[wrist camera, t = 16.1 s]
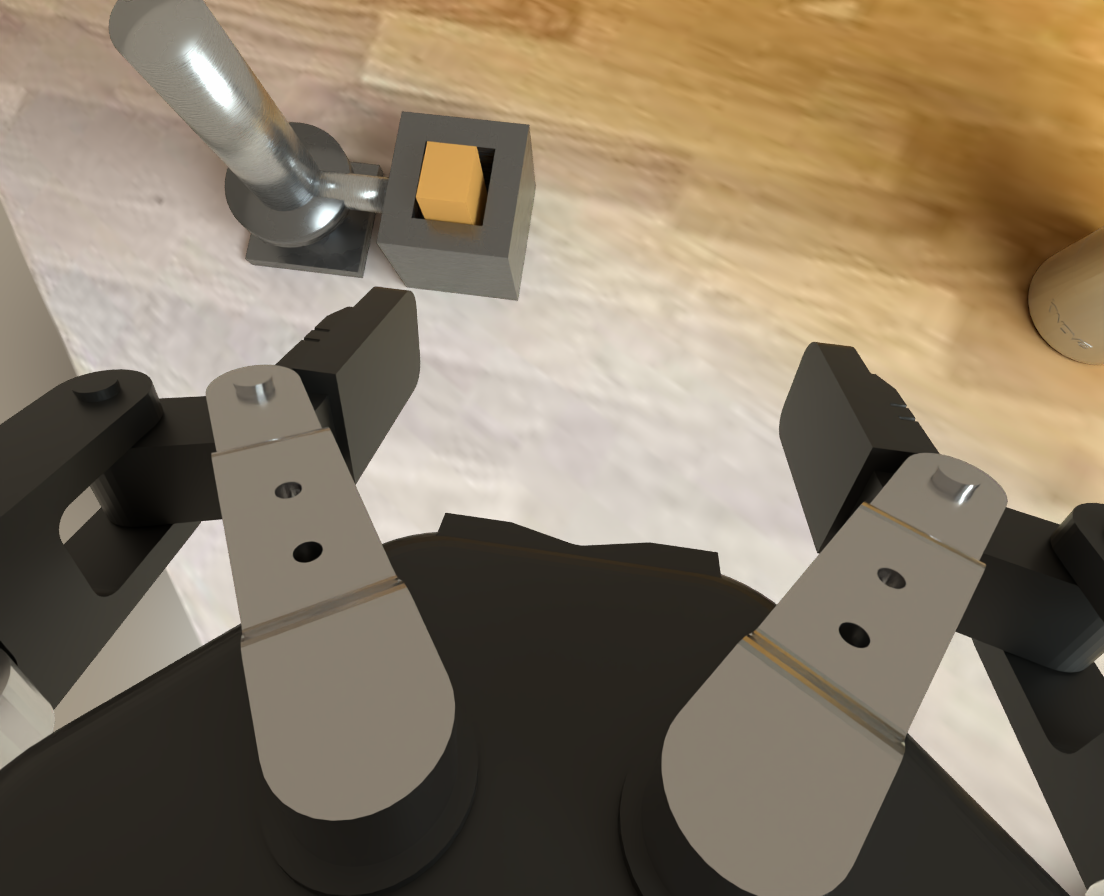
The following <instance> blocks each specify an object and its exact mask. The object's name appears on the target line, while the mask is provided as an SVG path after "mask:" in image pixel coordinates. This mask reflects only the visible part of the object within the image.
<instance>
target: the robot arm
mask: <svg viewBox="0 0 1104 896" xmlns="http://www.w3.org/2000/svg"><path fill="white" fill-rule="evenodd" d="M1028 303H1029V310H1030V315H1031V317H1032V320H1033V322H1034V325H1035V327H1036V328H1037V330H1038V331H1039V333H1040V335H1041V336H1042V337H1043V338H1044V340H1045V341H1046V342H1047V343H1048V344H1049V345H1050V346H1051V347H1052V348H1054V349H1055V350H1057V351H1058V352H1060V353H1061V354H1062V355H1064V356H1066V357H1069V358H1071V359H1073V360H1075V361H1079V362H1083V363H1087V364H1096V365H1104V226H1103V227H1102V228H1100V229H1098V230H1096V231H1095V232H1093V233H1091V234H1089V235H1088V236H1086V237H1084V238H1082V239H1081V240H1079V241H1077V242H1075V243H1074V244H1072V245H1070V246H1068V247H1067V248H1065V249H1063V250H1061V251H1060V252H1058V253H1056V254H1055V255H1053V256H1051V257H1050V258H1048V259H1047V260H1046V261H1045V262H1044V263H1043V264H1042V265H1041V266H1040V267H1039V268H1038V270H1037V271H1036V273H1035V275H1034V276H1033V278H1032V281H1031V285H1030V288H1029V297H1028ZM419 373H420V350H419V337H418V323H417V309H416V301H415V297H414V294H413V293H412V292H411V291H407V290H399V289H391V288H383V287H373V288H372V289H371V290H370V291H369V292H368V293H367V294H366V295H365V296H364V297H363V298H362V299H361V300H360V301H359V302H358V303H357V304H356V305H355V306H354V307H346V308H344V309H342V310H339V311H337V312H335V313H333V314H330V315H328V316H327V317H325V318H324V319H323V320H322V321H321V322H320V323H319V324H318V325H317V326H316V327H315V330H312V331H311V332H310V333H308V334H307V335H306V336H305V337H304V340H301V341H300V342H299V343H298V344H297V345H296V346H295V347H294V348H293V349H291V350H290V351H289V352H288V353H287V354H286V355H285V356H284V357H283V358H282V359H281V360H280V361H279V362H278V363H277V364H275V365H254V366H247V367H242V368H238V369H235V370H232V371H229V372H227V373H225V374H223V375H221V376H219V377H218V378H216V379H215V380H213V381H212V382H211V383H210V384H209V386H208V387H207V390H206V396H201V397H182V398H162V399H159V398H158V395H157V393H156V390H155V388H154V385H153V383H152V381H151V379H150V377H148V376H147V375H146V374H143V373H141V372H138V371H133V370H122V369H120V370H105V371H98V372H93V373H89V374H85V375H82V376H78V377H75V378H73V379H70V380H68V381H66V382H64V383H62V384H60V385H58V386H56V387H55V388H53V389H52V390H50V391H49V392H47V393H46V394H44V395H43V396H42V397H40V398H39V399H37V400H36V401H34V402H33V403H31V404H30V405H28V406H27V407H25V408H24V409H23V410H21V411H20V412H18V413H17V414H15V415H14V416H12V417H11V418H9V419H8V420H7V421H5V422H4V423H2V424H1V425H0V896H1070V895H1069V894H1068V893H1067V892H1066V891H1065V890H1064V889H1063V888H1062V887H1061V886H1060V885H1059V884H1058V883H1057V882H1056V881H1055V880H1054V879H1053V878H1052V877H1051V876H1050V875H1049V874H1048V873H1047V872H1046V871H1045V870H1044V869H1043V868H1042V867H1041V866H1040V865H1039V864H1038V863H1037V862H1036V861H1035V860H1034V859H1033V858H1032V857H1031V856H1030V855H1029V854H1028V853H1027V852H1026V851H1025V850H1024V849H1023V848H1022V847H1021V846H1020V845H1019V844H1018V843H1017V842H1016V841H1015V840H1014V839H1013V838H1012V837H1011V836H1010V835H1009V834H1008V833H1007V832H1006V831H1005V830H1004V829H1003V828H1002V827H1001V826H1000V825H999V824H998V823H997V822H996V821H995V820H994V819H993V818H992V817H991V816H990V815H989V814H988V813H987V812H986V811H985V810H984V809H983V808H982V807H981V806H980V805H979V804H978V803H977V802H976V801H975V800H974V799H973V798H972V797H971V796H970V795H969V794H968V793H967V792H966V791H965V790H964V789H963V788H962V787H961V786H960V785H959V784H958V783H957V782H956V781H955V780H954V779H953V778H952V777H951V776H950V775H949V774H948V773H947V772H946V771H945V770H944V769H943V768H942V767H941V766H940V765H939V764H938V763H937V762H936V761H935V760H934V759H933V758H932V757H931V756H930V755H929V754H928V753H927V752H926V751H925V750H924V749H923V748H922V747H921V746H920V745H919V744H918V743H917V742H916V741H915V740H914V739H913V738H912V737H911V736H910V735H909V734H908V733H907V732H908V730H909V727H910V725H911V723H912V721H913V719H914V717H915V715H916V713H917V711H918V709H919V706H920V704H921V702H922V700H923V698H924V696H925V694H926V692H927V690H928V688H929V686H930V683H931V681H932V679H933V677H934V675H935V673H936V671H937V669H938V667H939V665H940V662H941V660H942V658H943V656H944V654H945V652H946V650H947V648H948V646H949V644H950V642H951V639H952V637H953V635H954V633H955V632H958V633H960V634H963V635H966V636H968V637H971V638H972V640H973V643H974V646H975V648H976V650H977V652H978V654H979V656H980V659H981V661H982V663H983V665H984V667H985V669H986V672H987V674H988V676H989V678H990V680H991V682H992V685H993V687H994V689H995V691H996V693H997V695H998V698H999V700H1000V702H1001V704H1002V706H1003V709H1004V711H1005V713H1006V715H1007V717H1008V719H1009V722H1010V724H1011V726H1012V728H1013V730H1014V732H1015V735H1016V737H1017V739H1018V741H1019V743H1020V745H1021V748H1022V750H1023V752H1024V754H1025V756H1026V758H1027V761H1028V763H1029V765H1030V767H1031V769H1032V771H1033V774H1034V776H1035V778H1036V780H1037V782H1038V785H1039V787H1040V789H1041V791H1042V793H1043V795H1044V798H1045V800H1046V802H1047V804H1048V806H1049V808H1050V811H1051V813H1052V815H1053V817H1054V819H1055V821H1056V824H1057V826H1058V828H1059V830H1060V832H1061V834H1062V837H1063V839H1064V841H1065V843H1066V845H1067V848H1068V850H1069V852H1070V854H1071V856H1072V858H1073V861H1074V863H1075V865H1076V867H1077V869H1078V871H1079V874H1080V876H1081V878H1082V880H1083V882H1084V884H1085V887H1086V889H1087V892H1086V894H1085V896H1104V677H1103V675H1102V674H1101V672H1100V670H1099V669H1098V667H1097V666H1096V664H1095V663H1094V661H1095V660H1096V659H1097V658H1098V657H1100V656H1101V655H1102V654H1103V653H1104V504H1099V503H1085V504H1081V505H1078V506H1077V507H1075V508H1074V509H1073V511H1072V512H1071V513H1070V514H1069V515H1068V516H1067V518H1066V519H1065V520H1064V521H1063V522H1062V523H1061V524H1056V523H1053V522H1050V521H1047V520H1044V519H1041V518H1038V517H1035V516H1031V515H1028V514H1025V513H1022V512H1019V511H1016V510H1013V509H1010V508H1007V507H1006V506H1007V502H1008V500H1007V495H1006V493H1005V491H1004V490H1003V488H1002V487H1001V486H1000V485H999V484H998V483H997V482H996V481H995V480H994V479H993V478H992V477H991V476H989V475H988V474H986V473H985V472H983V471H982V470H980V469H978V468H977V467H975V466H973V465H971V464H969V463H967V462H964V461H962V460H959V459H956V458H953V457H950V456H946V455H942V454H939V452H938V451H937V449H936V448H935V446H934V445H933V443H932V442H931V440H930V439H929V437H928V436H927V435H926V433H925V432H924V430H923V429H922V427H921V426H920V424H919V423H918V422H916V421H915V417H914V415H913V414H912V412H911V411H910V410H909V408H906V406H907V405H906V404H905V402H904V401H903V399H902V398H901V396H900V395H899V393H898V392H897V390H896V389H895V388H893V387H892V386H891V385H889V384H888V383H887V382H885V381H884V380H883V379H881V378H880V377H878V376H877V375H876V374H871V373H870V372H869V370H868V368H867V367H866V365H865V364H864V362H863V361H862V359H861V357H860V356H859V354H858V353H857V351H856V350H855V348H854V347H851V346H843V345H835V344H827V343H819V342H812V343H811V344H809V346H808V347H807V348H806V350H805V352H804V354H803V357H802V360H801V362H800V365H799V367H798V370H797V373H796V375H795V378H794V380H793V383H792V386H791V388H790V391H789V393H788V396H787V399H786V401H785V404H784V406H783V409H782V413H781V417H780V424H779V435H780V440H781V443H782V446H783V449H784V452H785V455H786V458H787V462H788V465H789V468H790V471H791V474H792V477H793V480H794V483H795V486H796V489H797V492H798V495H799V498H800V502H801V505H802V508H803V511H804V514H805V517H806V520H807V523H808V526H809V529H810V532H811V535H812V538H813V542H814V545H815V548H816V551H817V553H820V554H819V555H818V556H817V558H816V559H815V560H814V561H813V562H812V564H811V565H810V566H809V567H808V568H807V570H806V571H805V572H804V573H803V574H802V576H801V577H800V578H799V579H798V580H797V582H796V583H795V584H794V585H793V586H792V588H791V589H790V590H789V591H788V592H787V593H786V595H785V596H784V597H783V598H782V599H781V601H780V602H779V603H778V604H775V603H774V602H773V601H771V600H770V599H768V598H767V597H765V596H764V595H762V594H761V593H759V592H758V591H756V590H754V589H752V588H751V587H749V586H747V585H745V584H743V583H741V582H739V581H737V580H734V579H732V578H730V577H727V576H725V575H722V574H721V573H720V566H719V558H718V552H711V551H704V550H697V549H691V548H684V547H677V546H670V545H663V544H656V543H629V544H609V545H588V546H580V545H575V544H571V543H568V542H565V541H563V540H560V539H557V538H554V537H551V536H548V535H546V534H543V533H540V532H537V531H534V530H531V529H529V528H526V527H523V526H520V525H517V524H514V523H512V522H506V521H499V520H492V519H485V518H478V517H471V516H465V515H458V514H451V513H445V515H444V518H443V520H442V523H441V525H440V528H439V530H438V532H432V533H423V534H416V535H411V536H407V537H403V538H398V539H395V540H392V541H389V542H386V543H383V544H382V543H381V541H380V539H379V537H378V534H377V532H376V530H375V528H374V526H373V523H372V521H371V519H370V517H369V514H368V512H367V510H366V508H365V505H364V503H363V501H362V499H361V497H360V494H359V492H358V490H357V488H356V483H357V482H358V480H359V478H360V477H361V475H362V474H363V472H364V470H365V469H366V467H367V465H368V464H369V462H370V461H371V459H372V457H373V456H374V454H375V453H376V451H377V449H378V448H379V446H380V444H381V443H382V441H383V440H384V438H385V436H386V435H387V433H388V431H389V430H390V428H391V427H392V425H393V423H394V422H395V420H396V419H397V417H398V415H399V414H400V412H401V410H402V409H403V407H404V406H405V404H406V402H407V401H408V399H409V397H410V396H411V394H412V393H413V391H414V389H415V387H416V385H417V382H418V378H419ZM89 486H90V487H91V489H92V491H93V493H94V494H95V496H96V498H97V500H98V502H99V503H100V505H101V508H100V509H99V510H98V511H97V512H96V513H95V514H94V515H93V516H92V517H91V518H90V519H89V520H88V521H87V522H86V523H85V524H84V525H83V526H82V527H81V528H80V529H79V530H78V531H77V532H76V533H75V534H74V535H73V536H72V537H71V538H70V539H69V540H68V541H67V542H66V543H65V544H64V545H63V543H62V541H61V539H60V535H59V523H60V519H61V517H62V515H63V513H64V511H65V509H66V508H67V507H68V506H69V504H70V503H72V502H73V501H74V500H75V499H76V498H77V497H78V496H79V495H80V494H81V493H82V492H83V491H85V490H86V488H88V487H89ZM219 519H223V525H224V530H225V536H226V541H227V547H228V553H229V558H230V564H231V569H232V575H233V581H234V586H235V592H236V597H237V603H238V609H239V614H240V620H241V624H239V625H237V626H236V627H234V628H232V629H231V630H229V631H227V632H225V633H224V634H222V635H220V636H218V637H217V638H215V639H213V640H212V641H210V642H208V643H206V644H205V645H203V646H201V647H199V648H198V649H196V650H194V651H193V652H191V653H189V654H187V655H186V656H184V657H182V658H181V659H179V660H177V661H175V662H174V663H172V664H170V665H168V666H167V667H165V668H163V669H162V670H160V671H158V672H156V673H155V674H153V675H151V676H149V677H148V678H146V679H144V680H143V681H141V682H139V683H137V684H136V685H134V686H132V687H131V688H129V689H127V690H125V691H124V692H122V693H120V694H118V695H117V696H115V697H113V698H112V699H110V700H108V701H107V702H105V703H103V704H101V705H99V706H98V707H96V708H94V709H93V710H91V711H89V712H87V713H86V714H84V715H82V716H81V717H79V718H77V719H75V720H74V721H72V722H71V723H68V724H67V725H65V726H63V727H62V728H60V729H58V730H56V731H55V732H53V728H54V724H55V715H54V711H53V710H54V709H55V708H56V707H57V705H58V704H59V703H60V701H61V700H62V699H63V698H64V696H65V695H66V694H67V693H68V691H69V690H70V689H71V687H72V686H73V685H74V683H75V682H76V681H77V680H78V679H79V677H80V676H81V675H82V674H83V672H84V671H85V670H86V668H87V667H88V666H89V665H90V663H91V662H92V661H93V660H94V658H95V657H96V656H97V654H98V653H99V652H100V651H101V649H102V648H103V647H104V646H105V644H106V643H107V642H108V640H109V639H110V638H111V637H112V635H113V634H114V633H115V631H116V630H117V629H118V628H119V626H120V625H121V623H123V621H124V620H125V619H126V617H127V616H128V615H129V614H130V612H131V611H132V610H133V608H134V607H135V606H136V605H137V603H138V602H139V601H140V600H141V598H142V597H143V595H144V594H145V593H146V592H147V591H148V589H149V588H150V587H151V586H152V584H153V583H154V582H155V581H156V579H157V578H158V577H159V575H160V574H161V573H162V572H163V570H164V569H165V568H166V567H167V565H168V564H169V563H170V561H171V560H172V559H173V558H174V556H175V555H176V554H177V552H178V551H179V550H180V549H181V547H182V546H183V545H184V544H185V542H186V541H187V540H188V538H189V537H190V536H191V535H192V533H193V532H194V531H195V530H196V528H197V527H198V526H199V524H200V523H201V521H208V520H219ZM52 732H53V733H52Z"/></svg>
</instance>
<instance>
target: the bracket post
mask: <svg viewBox="0 0 1104 896" xmlns="http://www.w3.org/2000/svg"><path fill="white" fill-rule="evenodd" d="M109 34H110V38H111V40H112V43H113V45H114V46H115V48H116V49H117V50H118V51H119V53H120V54H121V55H122V56H123V57H124V58H125V59H126V60H127V61H128V62H129V63H130V64H131V65H132V66H133V67H134V68H135V69H136V70H137V72H138V73H139V74H140V75H141V76H142V77H143V78H144V79H145V80H146V81H147V82H148V83H149V84H150V85H151V86H152V87H153V88H154V89H155V91H156V92H157V93H158V94H159V95H160V96H161V97H162V98H163V99H164V100H165V101H166V102H167V103H168V104H169V105H170V106H171V107H172V108H173V109H174V111H175V112H176V113H177V114H178V115H179V116H180V117H181V118H182V119H183V120H184V121H185V122H186V123H187V124H188V125H189V126H190V127H191V128H192V130H193V131H194V132H195V133H196V134H197V135H198V136H199V137H200V138H201V139H202V140H203V141H204V142H205V143H206V144H207V145H208V146H209V147H210V148H211V150H212V151H213V152H214V153H215V154H216V155H217V156H218V157H219V158H220V159H221V160H222V161H223V162H224V163H225V164H226V165H227V166H228V169H227V172H226V178H225V194H226V199H227V203H228V205H229V208H230V210H231V212H232V213H233V215H234V216H235V218H236V219H237V220H238V221H239V222H240V223H241V224H242V225H243V226H244V227H245V228H246V229H247V230H248V231H249V232H251V236H250V240H249V245H248V249H247V253H246V258H245V259H246V260H247V261H249V262H250V263H251V264H252V265H259V266H267V267H276V268H284V269H292V270H300V271H309V272H317V273H325V274H333V275H342V276H350V277H358V278H363V274H364V269H365V264H366V259H367V253H368V248H369V243H370V238H371V233H372V228H373V223H374V218H375V213H382V217H381V222H380V227H379V232H378V238H377V244H378V246H379V247H380V248H381V250H382V251H383V253H384V254H385V256H386V257H387V259H388V260H389V262H390V263H391V265H392V266H393V268H394V269H395V271H396V272H397V273H398V275H399V276H400V278H401V279H402V281H403V282H404V284H405V285H406V287H410V288H418V289H427V290H435V291H443V292H451V293H460V294H468V295H476V296H484V297H493V298H501V299H509V300H517V301H518V297H519V291H520V284H521V278H522V271H523V265H524V258H525V252H526V246H527V239H528V233H529V226H530V220H531V214H532V207H533V201H534V194H535V188H536V184H535V175H534V165H533V156H532V146H531V136H530V127H529V125H526V124H517V123H507V122H498V121H488V120H479V119H469V118H460V117H450V116H441V115H431V114H421V113H412V112H402V114H401V119H400V124H399V129H398V134H397V140H396V145H395V150H394V155H393V160H392V165H391V171H390V176H389V178H388V177H383V172H382V170H381V168H380V166H379V165H373V164H364V163H355V162H350V161H349V159H348V158H347V156H346V155H345V153H344V151H343V150H342V148H341V147H340V145H339V144H338V143H337V141H336V140H335V139H334V138H333V137H332V136H330V135H329V134H328V133H326V132H325V131H323V130H322V129H319V128H317V127H315V126H312V125H309V124H304V123H294V122H290V123H288V122H287V120H286V119H285V117H284V116H283V115H282V113H281V112H280V110H279V109H278V107H277V106H276V105H275V103H274V102H273V100H272V99H271V97H270V96H269V94H268V93H267V92H266V90H265V89H264V87H263V86H262V84H261V83H260V82H259V80H258V79H257V77H256V76H255V74H254V73H253V72H252V70H251V69H250V67H249V66H248V64H247V63H246V62H245V60H244V59H243V57H242V56H241V54H240V53H239V51H238V50H237V49H236V47H235V46H234V44H233V43H232V41H231V40H230V39H229V37H228V36H227V34H226V33H225V31H224V30H223V29H222V27H221V26H220V24H219V23H218V21H217V20H216V18H215V17H214V16H213V14H212V13H211V11H210V10H209V8H208V7H207V6H206V4H205V3H204V1H203V0H118V1H117V2H116V4H115V6H114V8H113V10H112V12H111V15H110V19H109ZM427 141H429V142H439V143H448V144H458V145H467V146H476V147H477V150H478V154H479V159H480V163H481V168H482V172H483V177H484V181H485V186H486V190H487V194H488V197H487V202H486V208H485V215H484V221H483V226H477V225H468V224H460V223H451V222H442V221H433V220H425V218H424V215H423V213H422V211H421V208H420V206H419V204H418V201H417V199H416V194H417V189H418V184H419V180H420V175H421V170H422V165H423V160H424V155H425V151H426V146H427Z"/></svg>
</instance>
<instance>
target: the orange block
mask: <svg viewBox="0 0 1104 896" xmlns="http://www.w3.org/2000/svg"><path fill="white" fill-rule="evenodd" d="M487 197H488V194H487V190H486V186H485V181H484V177H483V172H482V168H481V163H480V159H479V154H478V150H477V147H476V146H467V145H458V144H448V143H439V142H429V141H427V146H426V151H425V155H424V160H423V165H422V170H421V175H420V180H419V184H418V189H417V194H416V199H417V201H418V204H419V206H420V208H421V211H422V213H423V215H424V218H425V220H433V221H442V222H451V223H460V224H468V225H477V226H483V221H484V215H485V208H486V202H487Z"/></svg>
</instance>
